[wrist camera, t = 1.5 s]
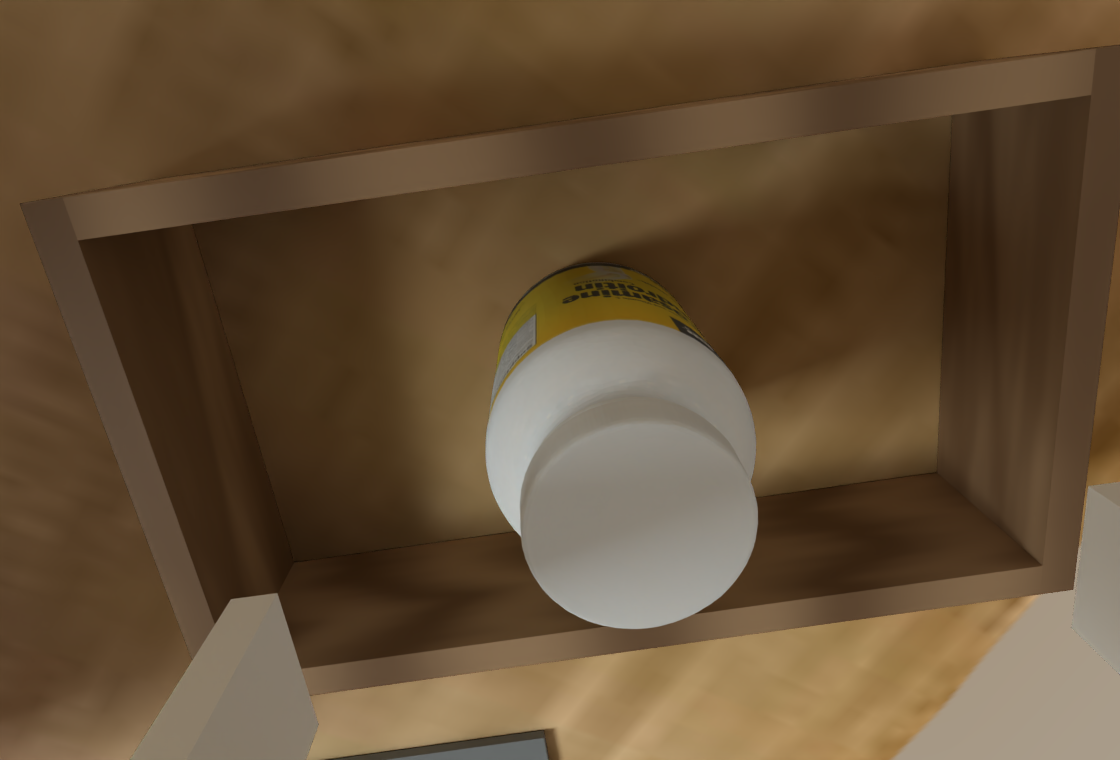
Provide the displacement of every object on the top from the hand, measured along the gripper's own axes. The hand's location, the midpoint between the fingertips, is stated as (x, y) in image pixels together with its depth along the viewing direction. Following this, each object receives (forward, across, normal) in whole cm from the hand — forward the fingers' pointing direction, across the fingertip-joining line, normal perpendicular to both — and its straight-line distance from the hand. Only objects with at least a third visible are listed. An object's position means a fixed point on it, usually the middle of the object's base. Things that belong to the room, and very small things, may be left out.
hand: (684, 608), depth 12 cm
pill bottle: (+14, 0, 0) cm, 14 cm away
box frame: (+14, 0, 0) cm, 14 cm away
